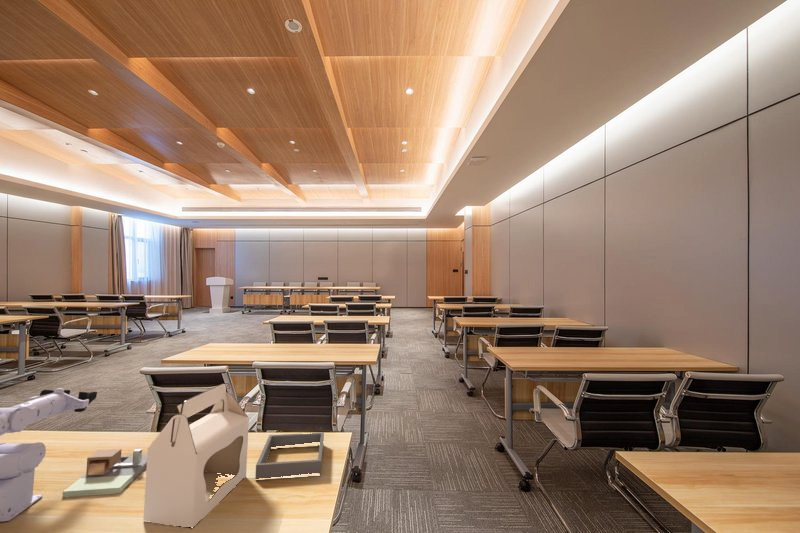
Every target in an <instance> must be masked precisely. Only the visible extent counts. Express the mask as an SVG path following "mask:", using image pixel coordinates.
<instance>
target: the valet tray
mask: <svg viewBox="0 0 800 533" xmlns="http://www.w3.org/2000/svg"><path fill="white" fill-rule="evenodd" d="M309 433H310V434H302V433H289V434H288V433H286V434H284V433H283V434H269V435H268V438H267V439H266V441H265V444H264V446H263V449H262V451H261V454H259V458H258V460H257V462H256V464H255V479H259V478H271V477H281V476H282V477H283V476H291V475H299V474H300V475H301V474H308V473H309V474H312V473H321V474H322V466H321V464H322V465H323V455H322V453H323V454H324V443H323V441H324V442H325V440H324V437H325V433H324V432H322V431H321V432H309ZM311 433H312V434H311ZM312 442H320V446H319V447H318V458H317V459H308V460H307V459H306V460H304V459H303V460H291V461H290V460H288V461H274V462H266V460H267V461H268V459H267V457H268V455H269V456H270V454H269V452H270V453H271V451H270V449H271V447H276V446H285V445H295V444H304V443H312ZM271 450H272V449H271ZM268 458H269V457H268ZM265 462H266V463H265Z"/></svg>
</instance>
